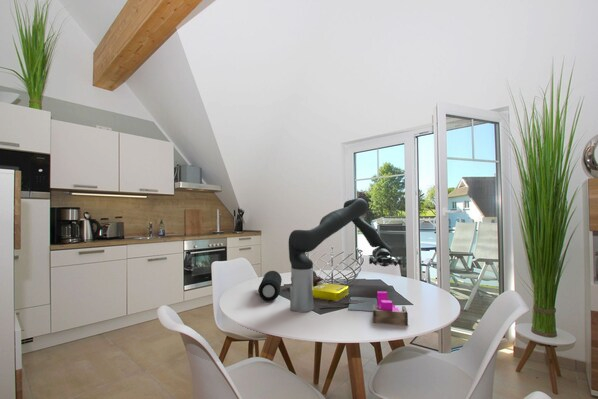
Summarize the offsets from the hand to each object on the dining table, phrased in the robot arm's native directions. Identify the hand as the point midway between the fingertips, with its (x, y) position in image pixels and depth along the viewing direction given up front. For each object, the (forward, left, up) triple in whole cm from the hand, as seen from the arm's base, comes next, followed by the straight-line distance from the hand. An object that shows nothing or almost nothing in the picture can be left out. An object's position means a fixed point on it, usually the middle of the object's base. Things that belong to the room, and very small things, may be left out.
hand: (385, 263), depth 130 cm
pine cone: (-40, +20, -18) cm, 48 cm away
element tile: (-26, +7, -18) cm, 33 cm away
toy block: (0, -15, -18) cm, 24 cm away
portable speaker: (-55, +3, -18) cm, 58 cm away
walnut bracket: (0, -20, -18) cm, 27 cm away
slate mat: (-10, -3, -18) cm, 21 cm away
